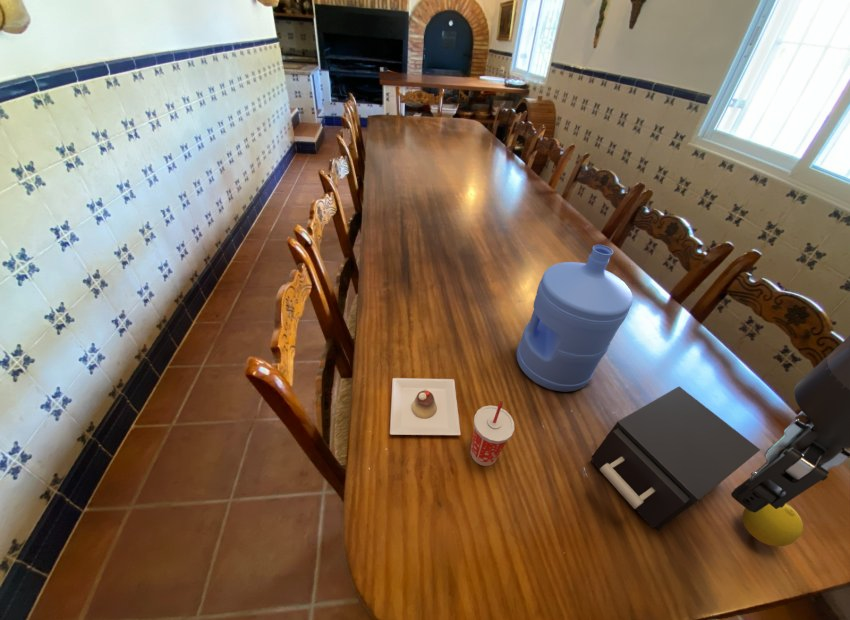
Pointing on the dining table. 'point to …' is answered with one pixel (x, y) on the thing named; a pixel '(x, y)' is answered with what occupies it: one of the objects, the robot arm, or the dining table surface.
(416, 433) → the dessert
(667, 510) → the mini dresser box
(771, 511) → the lemon
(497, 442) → the beverage cup
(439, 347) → the dining table surface
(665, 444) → the dark drawer cabinet
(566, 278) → the water jug
